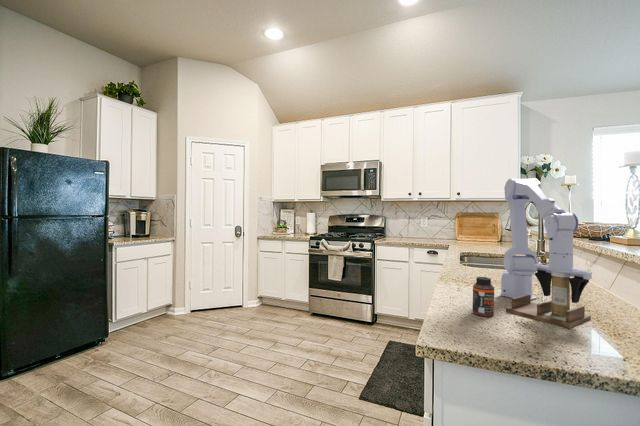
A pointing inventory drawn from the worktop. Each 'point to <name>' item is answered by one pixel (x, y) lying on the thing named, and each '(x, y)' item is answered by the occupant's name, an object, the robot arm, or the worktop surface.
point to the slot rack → (547, 312)
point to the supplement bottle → (483, 297)
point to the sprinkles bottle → (560, 293)
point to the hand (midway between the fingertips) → (560, 298)
